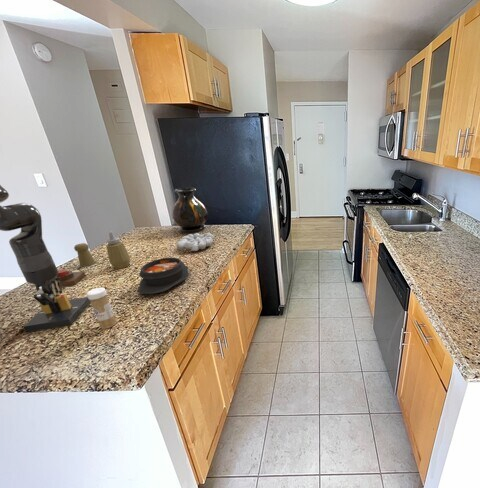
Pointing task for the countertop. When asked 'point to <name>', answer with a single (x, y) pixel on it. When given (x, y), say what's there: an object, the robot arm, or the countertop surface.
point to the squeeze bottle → (117, 252)
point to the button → (62, 272)
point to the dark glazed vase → (189, 211)
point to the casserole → (162, 275)
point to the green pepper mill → (84, 255)
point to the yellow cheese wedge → (62, 303)
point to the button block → (71, 278)
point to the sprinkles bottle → (102, 307)
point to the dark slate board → (57, 316)
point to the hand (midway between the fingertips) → (58, 309)
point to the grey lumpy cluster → (195, 241)
